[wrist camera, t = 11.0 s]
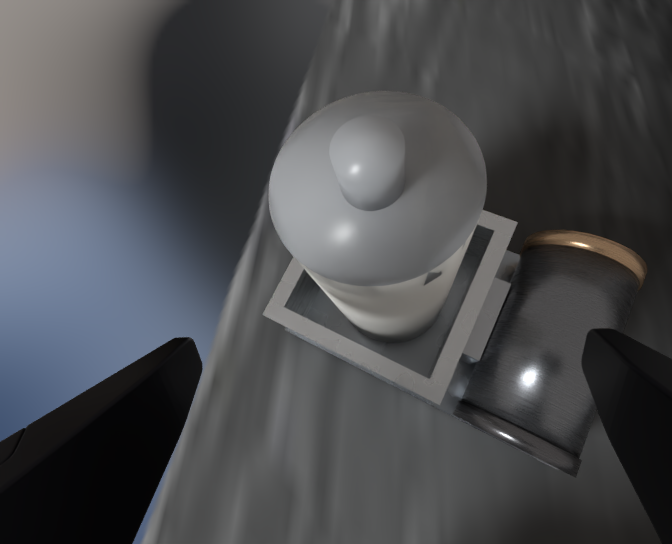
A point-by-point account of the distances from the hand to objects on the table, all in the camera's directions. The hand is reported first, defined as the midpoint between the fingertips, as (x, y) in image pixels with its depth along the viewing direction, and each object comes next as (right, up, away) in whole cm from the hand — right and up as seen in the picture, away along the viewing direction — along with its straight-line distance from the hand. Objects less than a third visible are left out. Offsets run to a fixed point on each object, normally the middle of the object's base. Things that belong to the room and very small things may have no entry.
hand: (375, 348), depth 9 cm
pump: (+2, +1, +14) cm, 14 cm away
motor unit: (+5, -1, +13) cm, 14 cm away
